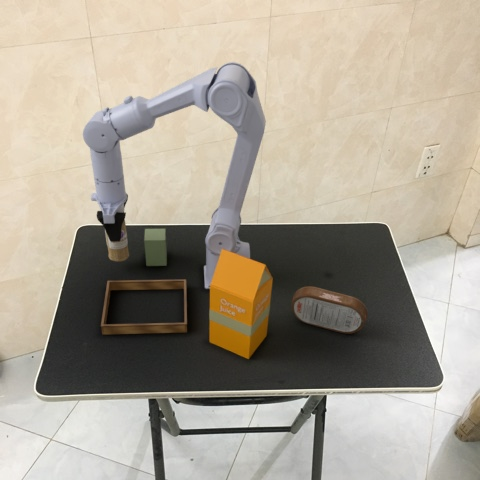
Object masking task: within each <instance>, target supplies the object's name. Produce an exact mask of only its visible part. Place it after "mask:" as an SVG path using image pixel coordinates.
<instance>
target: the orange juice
mask: <svg viewBox="0 0 480 480" xmlns="http://www.w3.org/2000/svg"><path fill="white" fill-rule="evenodd" d="M273 279H274V278H273V276H272V273H271V272H270V270H269V268H268V266H267V264H265V263H262V262H259V261H257V260H255V259H252V258H250V259H249V258H246V257H244V256H241V255H238V254H236V253H233V252H230V251H227V250H225V249H222V250H221V254H220V257H219V260H218V263H217V266H216V269H215V272H214V275H213V278H212V281H211V284H210V289H209V309H208V310H209V311H208V312H209V313H208V315H209V316H208V320H209V335H208V337H209V339H208V340H209V342H208V343H210V344H213V345H215V346H218V347H220V348H222V349H224V350H227V351H229V352H231V353H234V354H235V355H238V356H240V357H243V358H245V359H247V360H250V358H251V357H252V355H253V354H254V353H255V351H256V350H257V349H258V347H259V346H260V345H261V344H262V342H263V341H264V340H265V338H266V337H267V336H268V335H267V334H268V325H269V318H270V317H269V316H270V310H271V299H272V298H271V297H272V290H273V281H274V280H273Z"/></svg>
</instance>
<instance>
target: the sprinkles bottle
mask: <svg viewBox="0 0 480 480" xmlns="http://www.w3.org/2000/svg"><path fill="white" fill-rule="evenodd" d="M117 212H125V208H124V204H123V205H122V206H121V208H120V209H119V210H118V211H117ZM126 225H127V223H126V218H125V219H124V221H123V224H122V232H121V240H120V242H111V241H110V240H109V237H108V235H107V233H106V230H105V229H104V233H105V241H106V246H107V251H108V258H109V260H110V261H112V262H116V263H117V262H118V263H120V262H124V261H126V260H127V259H128V258H129V257H130V252H129V246H128V243H129V241H128V234H127V226H126Z"/></svg>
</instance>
